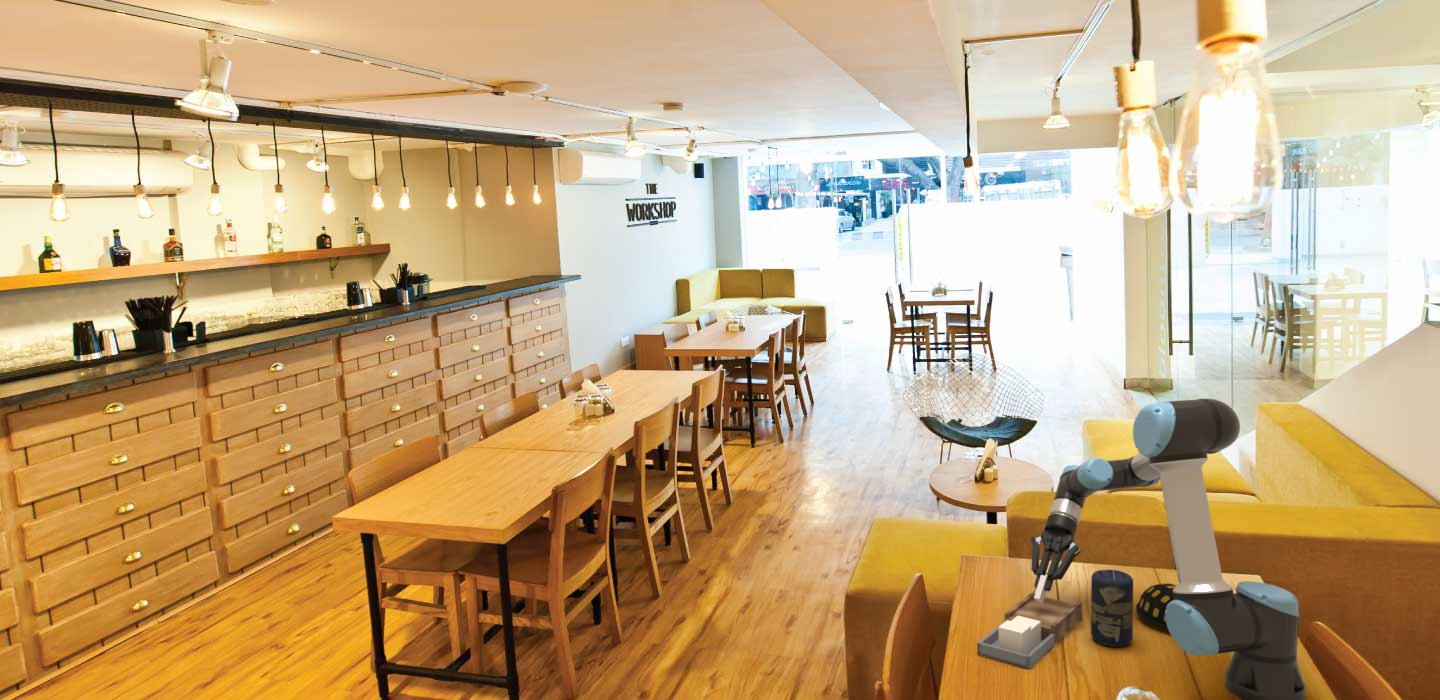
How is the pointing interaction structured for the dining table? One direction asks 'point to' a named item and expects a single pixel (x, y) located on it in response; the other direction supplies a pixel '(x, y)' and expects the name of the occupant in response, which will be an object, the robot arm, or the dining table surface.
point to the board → (1048, 615)
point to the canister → (1112, 607)
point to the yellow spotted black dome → (1155, 603)
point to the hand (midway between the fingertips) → (1038, 600)
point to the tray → (992, 650)
